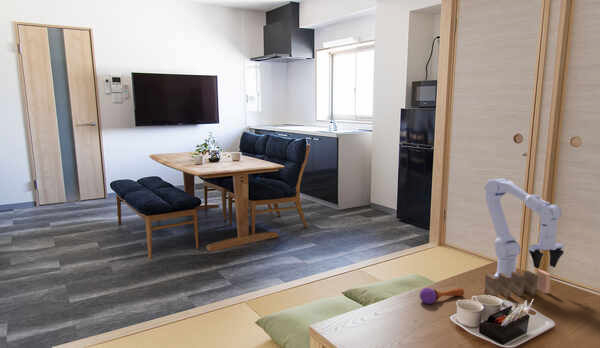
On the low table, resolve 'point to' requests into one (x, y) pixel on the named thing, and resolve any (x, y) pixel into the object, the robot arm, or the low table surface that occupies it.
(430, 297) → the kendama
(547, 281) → the terracotta domino
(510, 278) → the walnut domino
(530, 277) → the walnut domino
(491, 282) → the walnut domino
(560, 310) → the low table surface
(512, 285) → the walnut domino
